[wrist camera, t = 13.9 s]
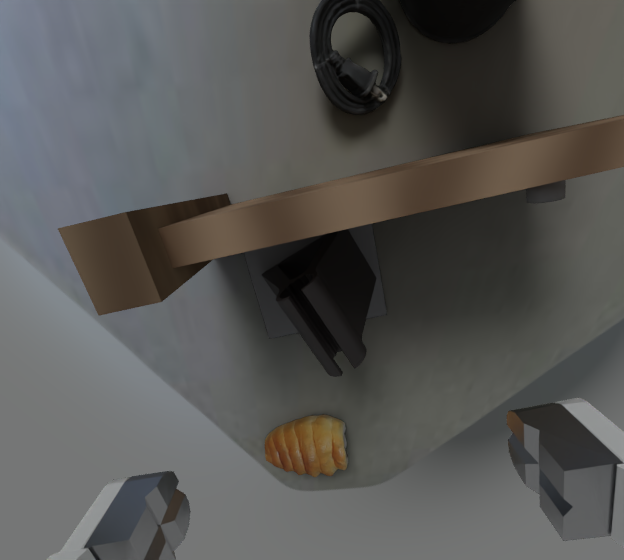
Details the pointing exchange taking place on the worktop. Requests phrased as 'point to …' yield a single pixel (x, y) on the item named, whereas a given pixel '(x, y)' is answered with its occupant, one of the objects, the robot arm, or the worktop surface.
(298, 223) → the door panel
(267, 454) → the pastry
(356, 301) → the phone stand
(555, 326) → the worktop surface
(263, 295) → the door mat
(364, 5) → the milk frother
